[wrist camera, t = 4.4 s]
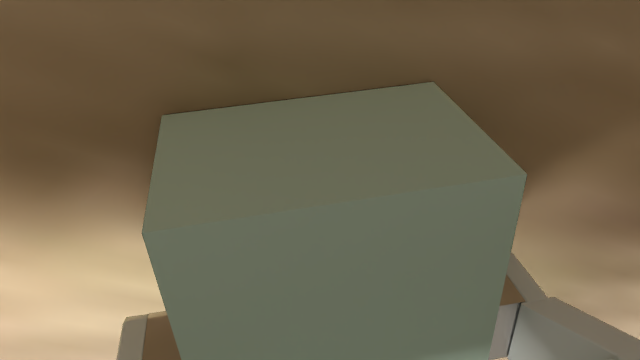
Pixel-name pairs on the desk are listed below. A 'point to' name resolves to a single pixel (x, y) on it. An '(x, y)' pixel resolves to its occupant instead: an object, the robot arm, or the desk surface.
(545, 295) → the robot arm
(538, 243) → the desk surface
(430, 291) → the card box
